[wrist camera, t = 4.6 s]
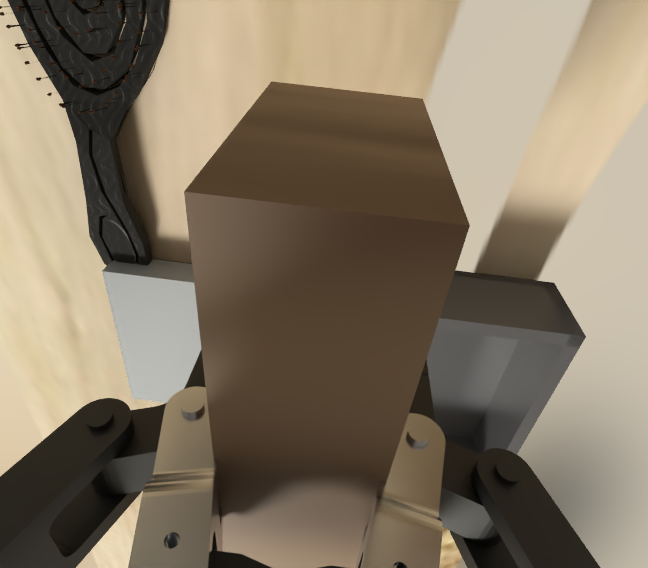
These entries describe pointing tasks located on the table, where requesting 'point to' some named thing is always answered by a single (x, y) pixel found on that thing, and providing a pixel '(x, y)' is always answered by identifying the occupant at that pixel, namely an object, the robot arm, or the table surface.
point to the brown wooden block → (317, 309)
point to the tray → (498, 358)
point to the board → (155, 325)
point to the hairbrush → (98, 98)
